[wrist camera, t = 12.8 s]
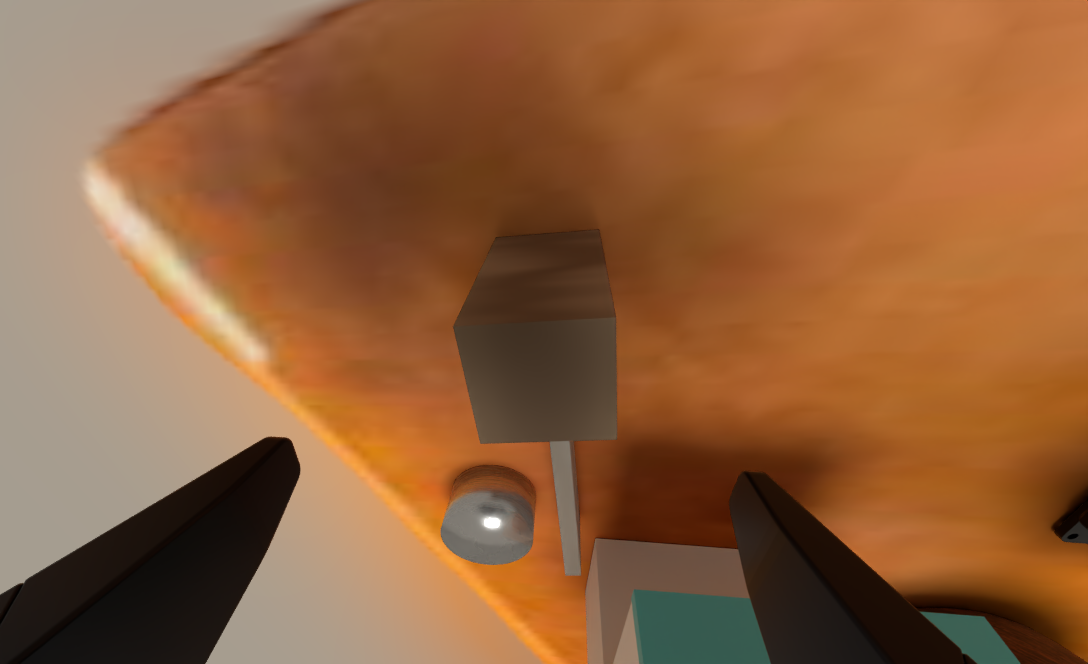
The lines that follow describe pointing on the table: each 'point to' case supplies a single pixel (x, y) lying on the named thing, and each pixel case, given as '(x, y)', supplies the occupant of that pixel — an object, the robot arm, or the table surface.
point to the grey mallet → (543, 355)
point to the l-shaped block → (704, 609)
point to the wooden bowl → (1020, 639)
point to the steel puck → (490, 515)
